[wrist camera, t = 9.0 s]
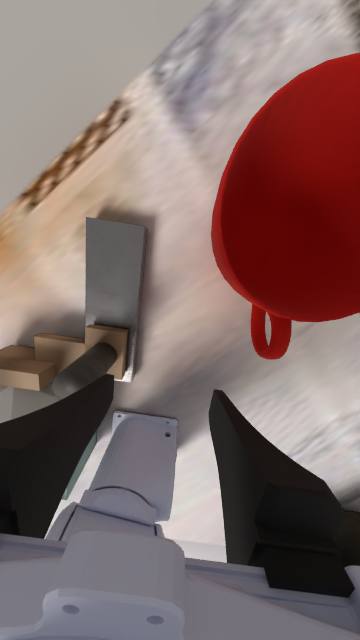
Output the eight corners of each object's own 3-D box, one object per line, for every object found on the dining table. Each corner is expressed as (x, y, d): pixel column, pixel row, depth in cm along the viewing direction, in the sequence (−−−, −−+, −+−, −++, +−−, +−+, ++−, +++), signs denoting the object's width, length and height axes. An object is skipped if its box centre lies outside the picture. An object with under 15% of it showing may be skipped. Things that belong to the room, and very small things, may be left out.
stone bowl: (354, 472, 27) (442, 572, 18) (412, 533, 33) (499, 630, 24) (232, 541, 31) (255, 648, 23) (303, 584, 37) (343, 681, 29)
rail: (147, 229, 19) (144, 226, 18) (134, 375, 24) (131, 382, 22) (93, 221, 19) (86, 217, 18) (91, 369, 24) (85, 375, 22)
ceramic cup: (188, 324, 22) (191, 364, 12) (211, 165, 17) (244, 29, 8) (289, 337, 22) (373, 387, 12) (337, 182, 18) (526, 68, 8)
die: (82, 373, 25) (-11, 376, 16) (72, 442, 22) (-42, 487, 14) (49, 371, 28) (-43, 373, 20) (37, 431, 26) (-72, 462, 18)
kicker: (131, 326, 22) (98, 358, 13) (127, 375, 23) (96, 430, 15) (7, 307, 21) (-106, 328, 13) (13, 358, 23) (-83, 405, 15)
